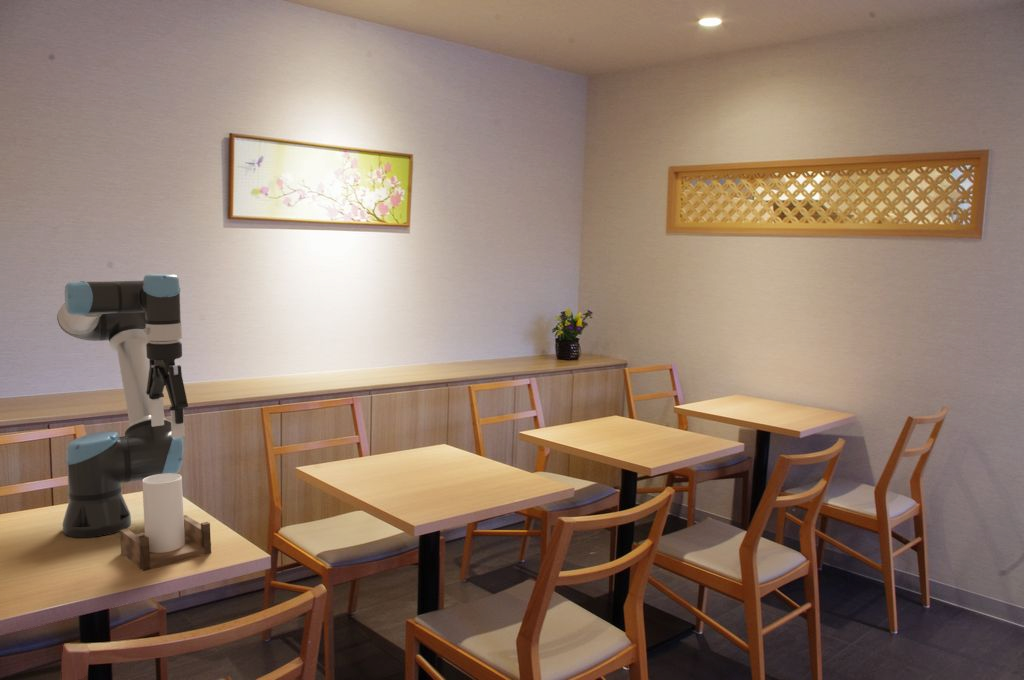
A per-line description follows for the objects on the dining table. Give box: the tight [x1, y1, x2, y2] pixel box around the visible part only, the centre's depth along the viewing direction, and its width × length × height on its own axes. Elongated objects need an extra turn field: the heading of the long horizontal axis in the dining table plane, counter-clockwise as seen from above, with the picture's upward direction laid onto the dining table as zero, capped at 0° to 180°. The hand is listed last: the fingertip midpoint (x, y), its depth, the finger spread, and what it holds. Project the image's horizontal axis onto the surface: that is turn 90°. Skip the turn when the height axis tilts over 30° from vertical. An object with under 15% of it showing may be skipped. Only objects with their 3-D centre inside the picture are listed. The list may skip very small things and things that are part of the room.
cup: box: [141, 473, 185, 553], centre depth 181 cm, size 8×8×16 cm
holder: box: [119, 514, 212, 572], centre depth 182 cm, size 14×15×7 cm
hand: (167, 431), depth 186 cm, fingers open, 13 cm apart
